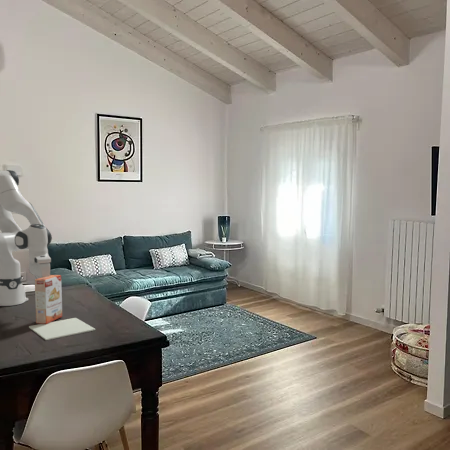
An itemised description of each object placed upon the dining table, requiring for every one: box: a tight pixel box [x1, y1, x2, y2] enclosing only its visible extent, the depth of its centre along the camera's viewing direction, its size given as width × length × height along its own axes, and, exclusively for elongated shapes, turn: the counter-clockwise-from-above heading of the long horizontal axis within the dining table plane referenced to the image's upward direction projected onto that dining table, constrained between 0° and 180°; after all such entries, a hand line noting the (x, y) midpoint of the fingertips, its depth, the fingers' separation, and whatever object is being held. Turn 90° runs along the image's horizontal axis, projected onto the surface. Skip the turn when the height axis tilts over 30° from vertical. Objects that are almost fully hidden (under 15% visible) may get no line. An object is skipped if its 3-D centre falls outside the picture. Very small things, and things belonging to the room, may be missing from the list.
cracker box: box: [34, 274, 63, 325], centre depth 223 cm, size 14×6×21 cm, turn 169°
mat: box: [28, 317, 96, 341], centre depth 212 cm, size 22×22×1 cm
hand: (39, 284), depth 233 cm, fingers closed
